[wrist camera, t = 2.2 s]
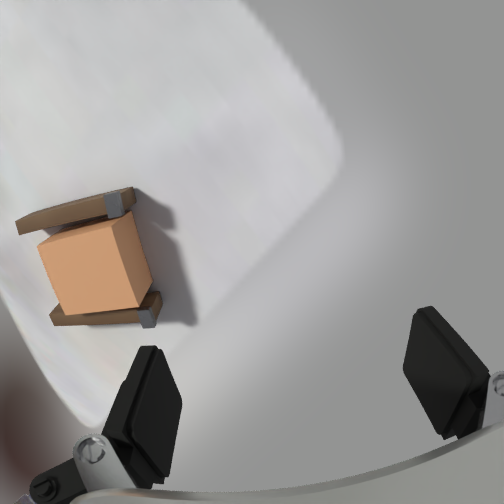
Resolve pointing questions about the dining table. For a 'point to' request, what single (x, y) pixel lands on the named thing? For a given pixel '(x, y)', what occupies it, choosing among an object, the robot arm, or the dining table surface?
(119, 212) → the brown wooden rail pair
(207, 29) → the dining table surface
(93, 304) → the light orange block
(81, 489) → the robot arm
